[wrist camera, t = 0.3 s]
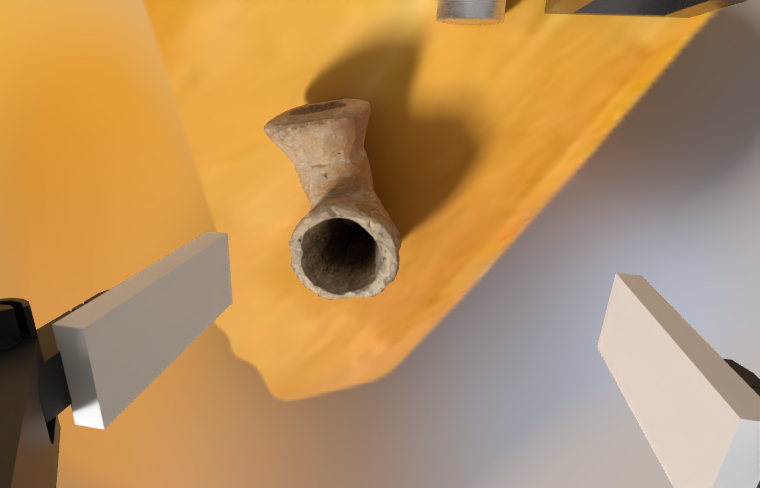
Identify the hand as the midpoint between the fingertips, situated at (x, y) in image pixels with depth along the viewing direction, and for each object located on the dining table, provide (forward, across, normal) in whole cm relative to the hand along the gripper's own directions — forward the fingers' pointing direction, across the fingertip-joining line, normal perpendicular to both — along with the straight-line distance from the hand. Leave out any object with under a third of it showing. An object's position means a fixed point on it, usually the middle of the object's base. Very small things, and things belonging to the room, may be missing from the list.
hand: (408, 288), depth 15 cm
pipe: (+27, -8, -3) cm, 28 cm away
